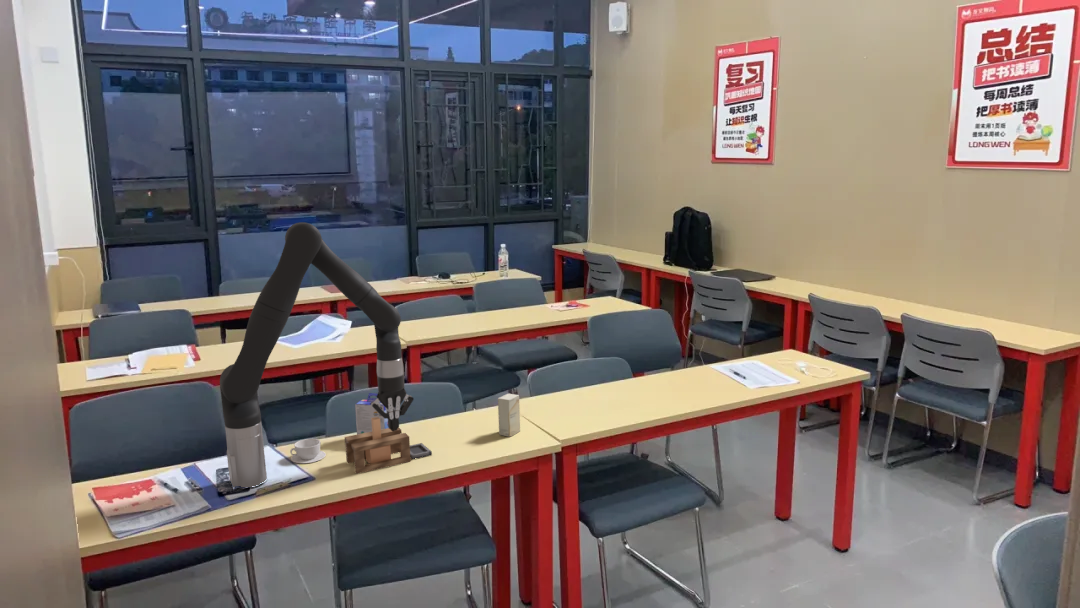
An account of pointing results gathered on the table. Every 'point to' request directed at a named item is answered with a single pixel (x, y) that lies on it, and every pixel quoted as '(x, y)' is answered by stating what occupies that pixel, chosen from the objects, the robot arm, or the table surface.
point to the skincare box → (509, 414)
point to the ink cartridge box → (368, 415)
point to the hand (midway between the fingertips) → (393, 430)
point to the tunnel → (365, 441)
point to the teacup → (307, 451)
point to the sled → (378, 452)
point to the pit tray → (419, 451)
